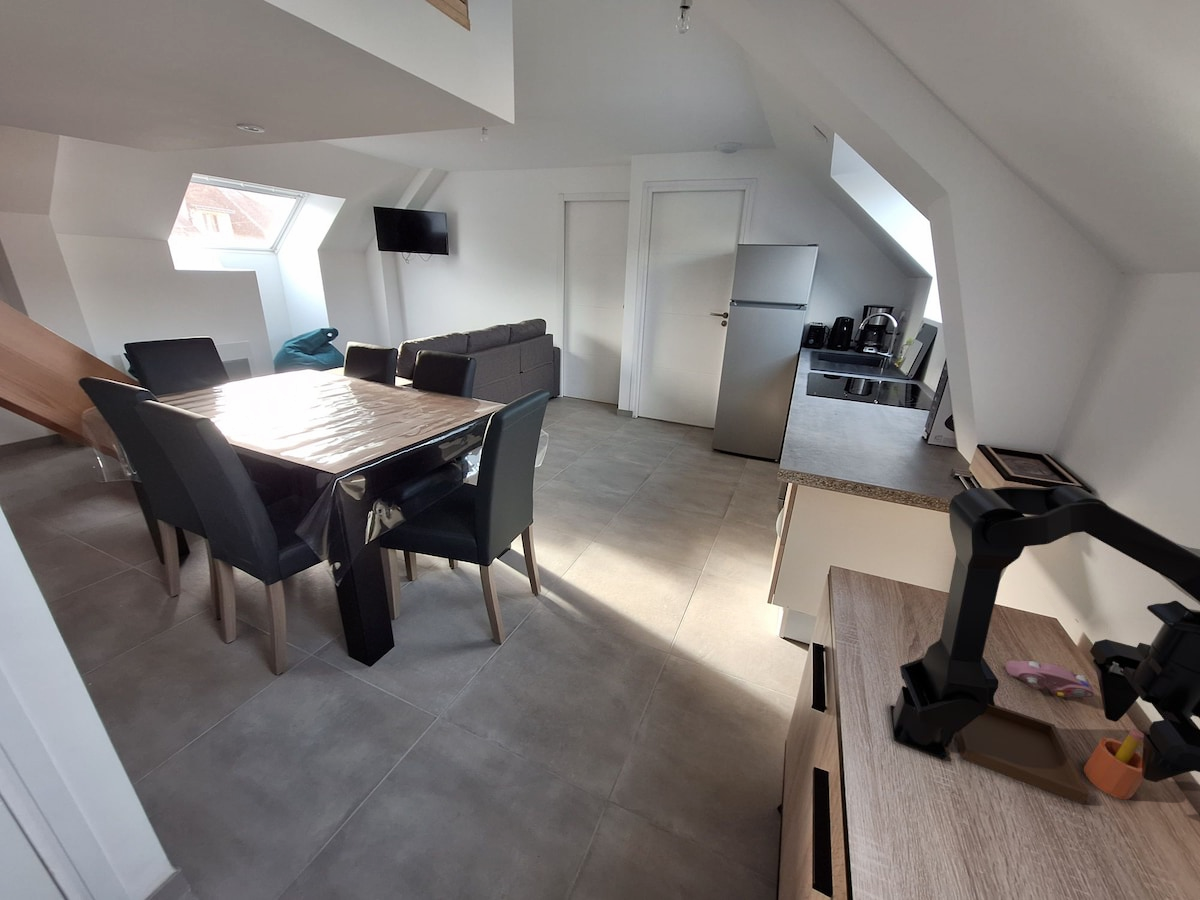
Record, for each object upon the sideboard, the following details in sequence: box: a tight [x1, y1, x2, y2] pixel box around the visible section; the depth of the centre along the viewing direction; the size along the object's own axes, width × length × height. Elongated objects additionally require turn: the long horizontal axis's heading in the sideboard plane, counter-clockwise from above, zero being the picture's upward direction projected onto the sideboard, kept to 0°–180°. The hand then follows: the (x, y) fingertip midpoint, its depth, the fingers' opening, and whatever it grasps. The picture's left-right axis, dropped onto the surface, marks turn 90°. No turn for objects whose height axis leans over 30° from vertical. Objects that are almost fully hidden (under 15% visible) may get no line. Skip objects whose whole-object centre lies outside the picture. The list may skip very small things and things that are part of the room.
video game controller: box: [1005, 659, 1095, 699], centre depth 76 cm, size 10×5×7 cm, turn 65°
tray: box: [954, 704, 1090, 805], centre depth 67 cm, size 13×11×2 cm
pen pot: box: [1083, 737, 1145, 800], centre depth 62 cm, size 5×5×6 cm
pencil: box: [1114, 728, 1144, 764], centre depth 61 cm, size 1×1×9 cm
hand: (1128, 747), depth 60 cm, fingers open, 9 cm apart
